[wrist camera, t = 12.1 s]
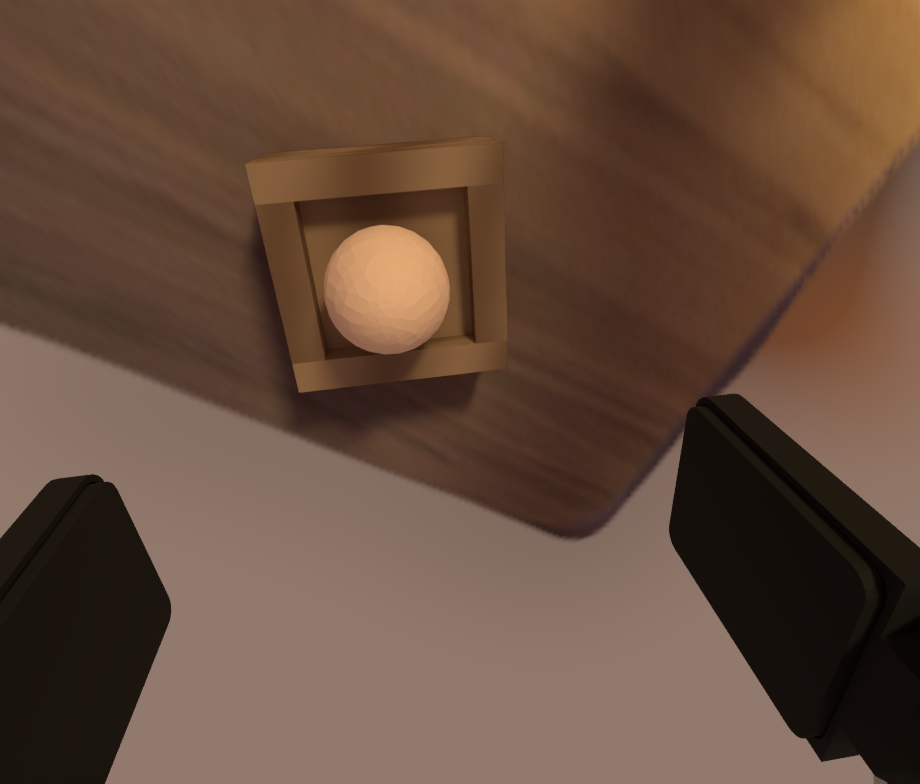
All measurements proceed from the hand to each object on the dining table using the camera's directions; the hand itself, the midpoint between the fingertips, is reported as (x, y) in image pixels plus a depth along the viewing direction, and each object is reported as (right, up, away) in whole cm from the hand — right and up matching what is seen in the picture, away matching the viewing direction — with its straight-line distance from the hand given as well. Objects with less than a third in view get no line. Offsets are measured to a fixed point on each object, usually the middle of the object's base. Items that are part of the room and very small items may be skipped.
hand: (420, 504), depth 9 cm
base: (-3, +9, +18) cm, 20 cm away
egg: (-3, +7, +16) cm, 18 cm away
